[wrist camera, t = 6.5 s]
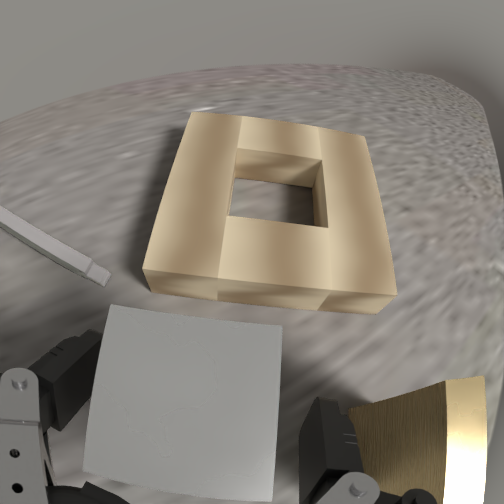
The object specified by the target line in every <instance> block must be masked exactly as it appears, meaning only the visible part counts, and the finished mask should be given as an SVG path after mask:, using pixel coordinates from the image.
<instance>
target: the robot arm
mask: <svg viewBox="0 0 504 504" xmlns="http://www.w3.org/2000/svg"><path fill="white" fill-rule="evenodd" d="M102 339H103V334H101V333H99V332H96V331H94V330H91V329H89V330H88V331H86V332H85V333H84V334H83V335H81V336H80V337H76V336H74V337H71V338H68V339H65V340H63V341H62V342H60V343H59V344H58V345H57V346H56V347H54V348H53V349H51V350H50V352H48V353H46V354H45V355H44V356H43V357H41V358H40V359H39V360H38V361H36V362H35V363H34V364H33V365H31V366H30V367H29V368H28V369H25V368H12V369H9V370H7V371H5V372H4V373H3V374H2V373H0V504H130V503H128V502H127V501H125V500H124V499H122V498H121V497H119V496H117V495H115V494H113V493H111V492H108V491H106V490H104V489H102V488H99V487H97V486H95V485H93V484H91V483H89V482H87V481H86V483H85V484H84V486H83V487H82V488H78V487H72V486H57V483H56V479H55V475H54V470H53V464H52V457H51V450H50V443H49V435H48V428H49V427H50V426H51V427H53V428H55V429H56V430H58V431H60V432H61V431H62V429H63V428H64V427H65V426H66V425H67V424H68V422H69V421H70V420H71V419H72V418H73V416H74V415H75V414H76V413H77V412H78V411H79V409H80V408H81V407H82V406H83V405H84V403H85V402H86V401H87V400H88V399H89V398H90V396H91V395H92V391H93V385H94V379H95V373H96V368H97V363H98V358H99V353H100V348H101V343H102ZM357 443H358V442H357V437H356V433H355V428H354V425H353V423H352V422H351V421H350V419H349V418H348V416H347V415H342V414H340V413H339V408H338V403H337V401H336V400H331V399H326V398H320V397H317V398H316V399H315V400H314V402H313V404H312V406H311V409H310V411H309V413H308V415H307V417H306V419H305V421H304V423H303V425H302V428H301V431H300V435H299V504H437V501H436V499H435V498H434V496H433V495H432V494H431V493H429V492H428V491H426V490H423V489H418V488H415V489H410V490H408V491H407V492H405V493H404V495H403V496H402V497H401V496H398V495H394V494H390V493H387V492H383V491H380V489H379V486H378V484H377V482H376V481H375V480H374V479H373V478H372V477H370V476H369V475H367V474H364V469H363V465H362V460H361V455H360V451H359V446H358V445H357Z"/></svg>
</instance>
